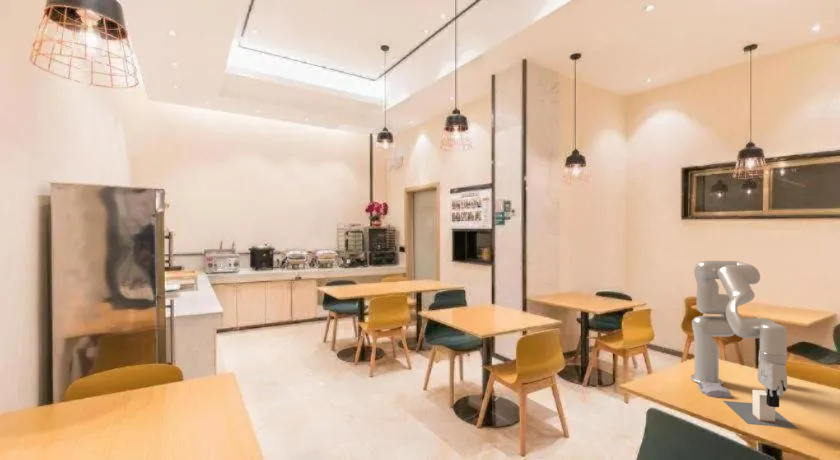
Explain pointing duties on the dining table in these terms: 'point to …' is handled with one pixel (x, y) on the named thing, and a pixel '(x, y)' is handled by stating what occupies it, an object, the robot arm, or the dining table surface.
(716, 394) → the stone block
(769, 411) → the cream block
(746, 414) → the charcoal mat
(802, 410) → the dining table surface
